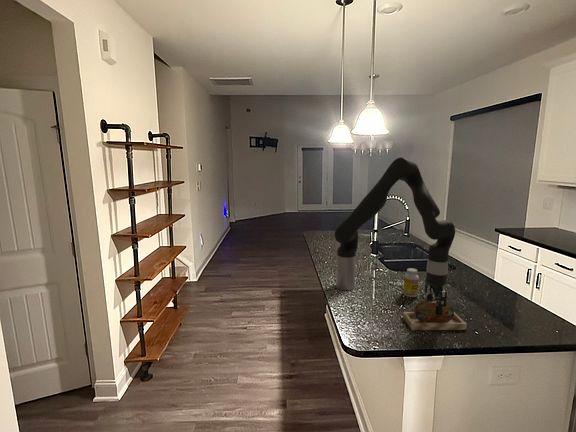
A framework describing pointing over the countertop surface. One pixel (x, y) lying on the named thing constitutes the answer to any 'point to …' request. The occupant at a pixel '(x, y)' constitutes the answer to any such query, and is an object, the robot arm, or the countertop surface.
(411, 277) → the supplement bottle
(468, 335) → the countertop surface
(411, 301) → the countertop surface
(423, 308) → the tin
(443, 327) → the tray
